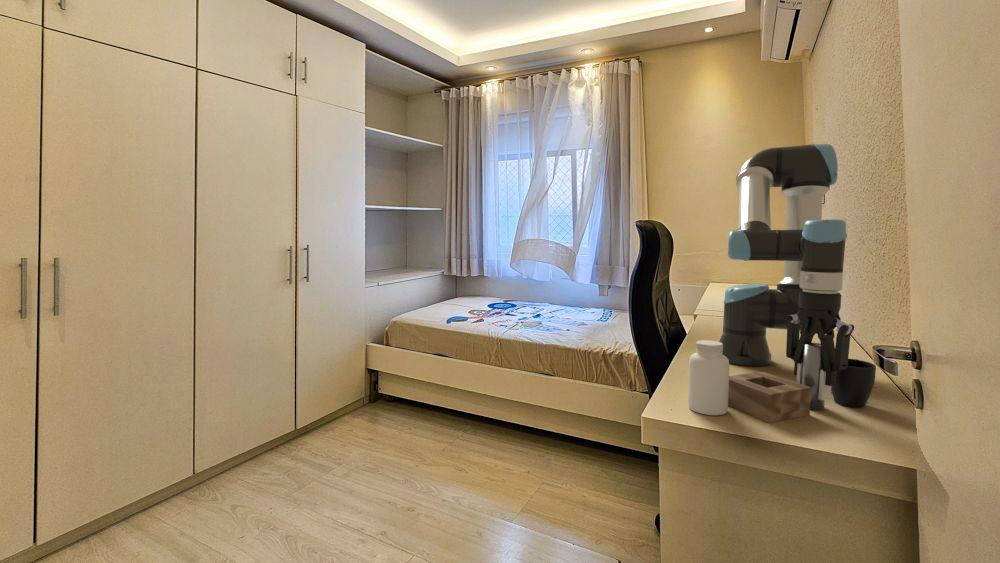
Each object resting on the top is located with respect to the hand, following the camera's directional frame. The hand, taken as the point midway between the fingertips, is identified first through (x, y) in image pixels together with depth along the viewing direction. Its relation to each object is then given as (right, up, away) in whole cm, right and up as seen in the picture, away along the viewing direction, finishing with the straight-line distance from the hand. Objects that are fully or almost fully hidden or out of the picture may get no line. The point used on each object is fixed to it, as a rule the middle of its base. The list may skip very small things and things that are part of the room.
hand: (812, 394), depth 98 cm
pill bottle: (-24, -3, -1) cm, 24 cm away
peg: (0, -3, 0) cm, 3 cm away
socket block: (-11, -3, -1) cm, 12 cm away
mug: (+11, -3, +3) cm, 12 cm away
